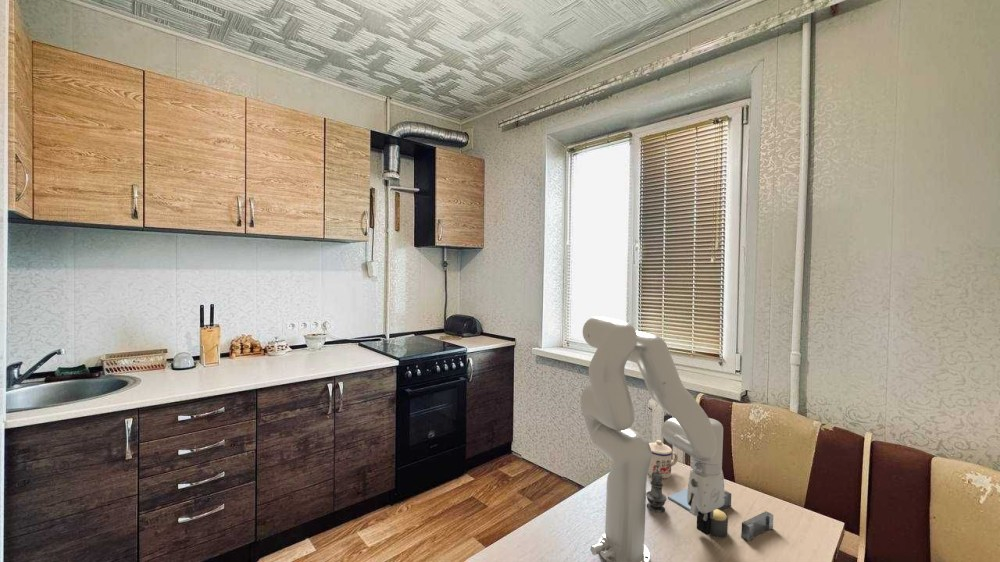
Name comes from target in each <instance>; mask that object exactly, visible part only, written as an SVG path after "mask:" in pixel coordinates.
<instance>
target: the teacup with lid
mask: <svg viewBox="0 0 1000 562" xmlns="http://www.w3.org/2000/svg"><path fill="white" fill-rule="evenodd" d="M648 443H649V445H650V447H651V451H652V458H651V463H650V467H649V470H648V475H650V477H652V473H653V472H654V471H656V470H657V469H658V472H660V473H661V474H662V479H663V478H664V479H669V478H670V477H671V476H672V467H674V466H675V465H677V462H678V460H679V456H678V454H677V453H676V452H674V451H673V450H672V448H671V447H670V446H669V445H667V444H664V443H663V441H662V440H660V439H657V440H655V441H654V442H648ZM672 455H674V459H673V458H672ZM672 459H673V461H672Z"/></svg>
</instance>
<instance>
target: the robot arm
mask: <svg viewBox="0 0 1000 562" xmlns="http://www.w3.org/2000/svg"><path fill="white" fill-rule="evenodd" d="M582 327H583V328H582V337H583V339H584V341H585V342H586V344H587V345H589V346H590V347H591V348H595V349H596V350H595V353H593V356H592V358H591V360H590V363H589V365H588V366H589V367H588V378H589V383H588V384H587V385H585V387H584V388H583V390H582V392H581V395H580V409H581V411H582V415H583V418H584V421H585V425H586V428H587V430H588V434H589V437H590V440H591V441H592V442H591V443H592V444H593V445H594V447H596V448H597V450H598V451H599V452H601V453H602V454H603V455H604V456H606V457H607V458H608V459H609V460H610V461H611V462H612V467H611V470H610V471H609V473H608V475H607V480H606V495H605V496H606V501H605V525H604V527H605V529H604V530H605V531H604V532H605V533H604V534H602V535H601V538H599V541H598V543H596V544H594V545H591V546H590V551H591V554H592V555H594V556H596V555H598V554H600V556H601V558H603V560H604V561H606V562H651V553H650V550H649V548H648V547H647V546H646V544H645V534H646V533H645V532H646V531H645V530H646V527H645V526H646V508H647V503H646V502H647V501H646V500H647V496H646V493H647V482H648V475H649V474H648V470H649V467H650V463H651V458H652V451H651V447H650V445H649V443H650V442H648V440H647V439H646V438H645V437H644V436H643V435H642V434H640V433H639V432H638V431H636V430H634V429H633V428H631V427H632V426H633V424H634V422H635V417H636V414H635V407H634V404H633V401H632V397H631V393H630V391H629V390H630V389H629V387H628V384H627V379H626V375H625V367H626V364H627V362H628V361H630V362H633V363H636V365H637V366H638V369H639V371H640V373H641V375H642V378H643V380H644V383H645V386H646V387H647V390H648V393H649V395H650V397H651V398H652V399H653V400H654V401H655V402H656V403H657V404H658V406H660V407H661V408H662V409H663V410H664V411H666V412H667V413H668V414H669V415H670V416H672V417H671V418H668V419H667V420H665V421H664V423H662V426H661V434H662V437H663V438H664V440H665V441H666V442H667V443H669V444H670V445H672V446H673V447H675V448H676V449H678V450H680V451H682V452H684V453H686V455H689V456H690V472H689V477H688V484H687V489H688V494H687V501H688V505H689V506H691V509H690V511H689V514H691V515H692V516H693V517H694V516H696V530H697V531H700V532H701V533H702V534H704V535H706V536H708V535H709V534H710V533H711V520H712V519H710V518H712V517H713V512H714V510H715V509H718V508H720V507H722V506H723V505H724V491H725V480H724V479H725V477H724V472H723V449H724V448H723V446H724V445H723V444H724V443H723V442H724V426H723V424H722V423H721V422H720V421H719V420H716V418H715V419H714V418H710V417H709V416H708V414H707V413H706V412H705V410H704V409H703V408H702V406H701V405H700V404H699V403H698V401H696V399H695V398H694V397H693V395H692V394H691V393H690V392H689V391H688V390H687V389H686V388H685V386H684V384H683V382H682V380H681V377H680V375H679V372H678V370H677V367H676V364H675V361H674V359H673V356H672V354H671V351H670V349H669V347H668V344H667V343H666V342H665V341H666V340H664V339H663V338H662V337H660V336H658V335H656V334H652V333H649V332H648V333H647V332H644V331H639V330H636V328H635V327H634V325H632V324H631V323H629V322H627V321H624V320H622V319H621V320H620V319H616V318H610V317H606V316H600V315H599V316H598V315H596V316H592V317H590V318H588V319H587V320H586V322H585V323H584V324H583V326H582Z"/></svg>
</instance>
